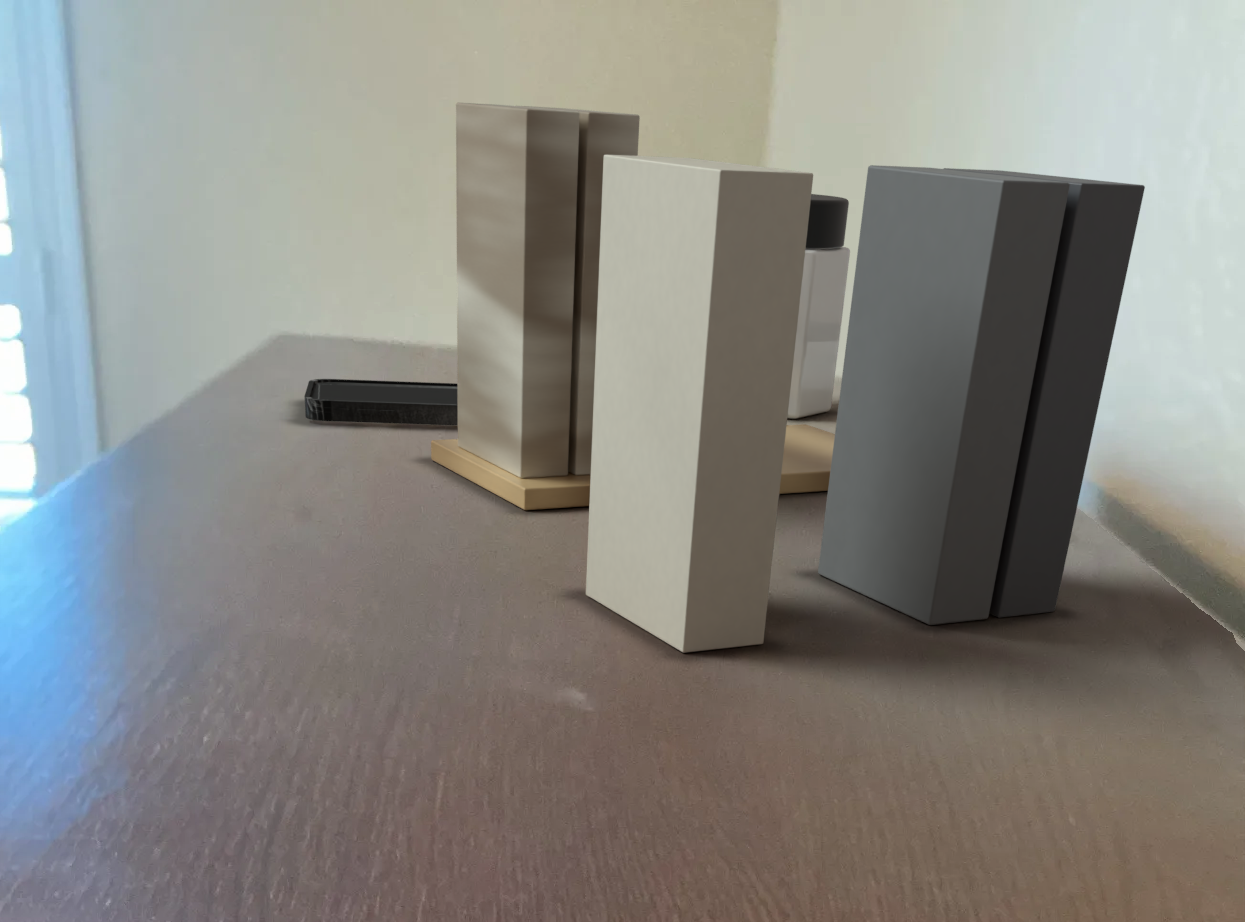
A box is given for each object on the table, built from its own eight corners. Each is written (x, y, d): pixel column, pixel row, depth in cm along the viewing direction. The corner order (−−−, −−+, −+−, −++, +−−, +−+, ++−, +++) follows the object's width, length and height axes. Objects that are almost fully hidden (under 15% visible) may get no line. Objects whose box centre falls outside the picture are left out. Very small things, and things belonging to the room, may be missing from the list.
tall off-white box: (660, 588, 63) (689, 158, 54) (763, 644, 57) (814, 173, 49) (585, 595, 61) (602, 155, 53) (682, 653, 56) (720, 169, 47)
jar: (829, 402, 104) (853, 196, 97) (832, 422, 97) (859, 203, 91) (698, 393, 105) (713, 187, 98) (692, 412, 98) (708, 194, 91)
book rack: (803, 442, 91) (840, 123, 82) (925, 485, 83) (981, 133, 74) (430, 460, 82) (425, 100, 73) (524, 511, 73) (531, 110, 64)
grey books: (936, 563, 69) (1001, 171, 60) (1055, 612, 63) (1146, 185, 54) (816, 574, 66) (867, 165, 58) (929, 626, 60) (1003, 180, 52)
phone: (309, 378, 94) (552, 386, 96) (311, 398, 95) (551, 406, 96) (303, 400, 88) (563, 408, 89) (304, 421, 88) (562, 429, 90)
